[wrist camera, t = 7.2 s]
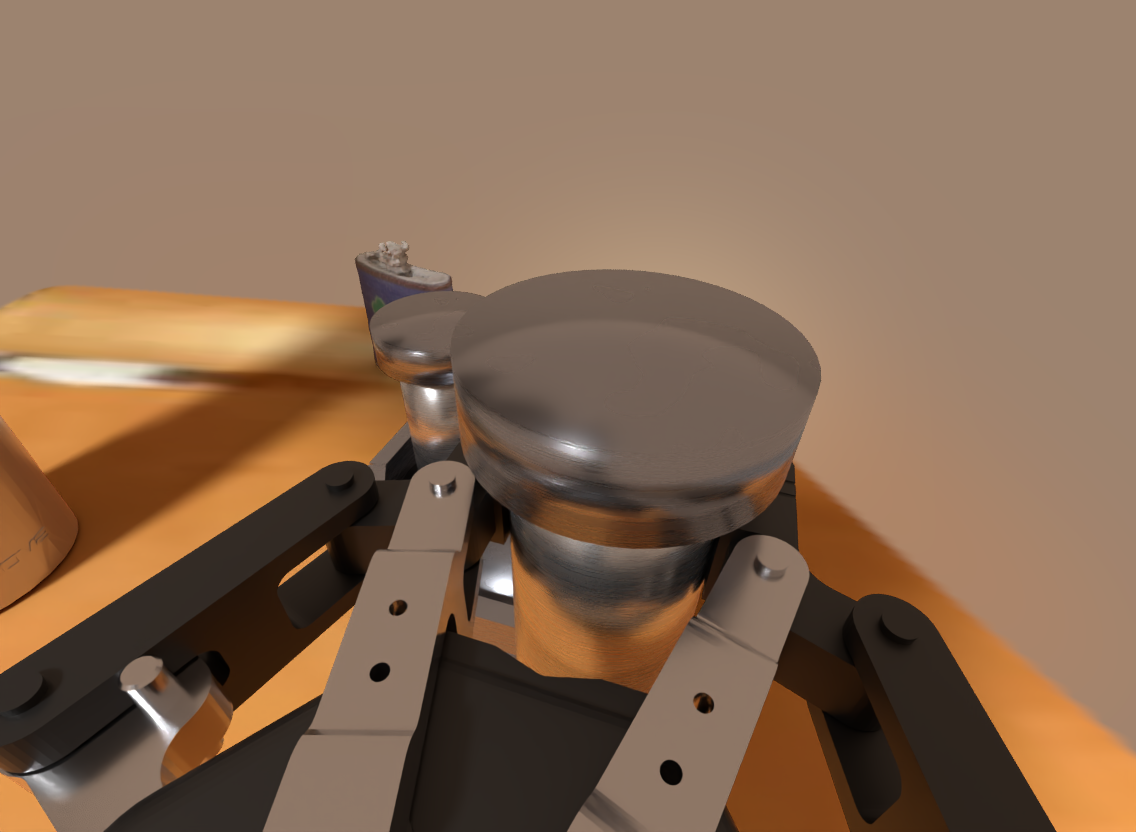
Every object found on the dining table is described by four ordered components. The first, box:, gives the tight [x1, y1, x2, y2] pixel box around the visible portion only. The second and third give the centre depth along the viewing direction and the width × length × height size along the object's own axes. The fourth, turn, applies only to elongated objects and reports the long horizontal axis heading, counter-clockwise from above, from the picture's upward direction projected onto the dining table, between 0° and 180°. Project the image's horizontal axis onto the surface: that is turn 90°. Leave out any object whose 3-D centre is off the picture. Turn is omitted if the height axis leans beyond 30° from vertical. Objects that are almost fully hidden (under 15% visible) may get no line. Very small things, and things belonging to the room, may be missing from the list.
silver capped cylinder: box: [450, 270, 821, 694], centre depth 12 cm, size 6×6×10 cm
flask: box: [355, 241, 453, 368], centre depth 40 cm, size 9×3×11 cm, turn 55°
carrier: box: [368, 291, 517, 659], centre depth 27 cm, size 18×18×12 cm
